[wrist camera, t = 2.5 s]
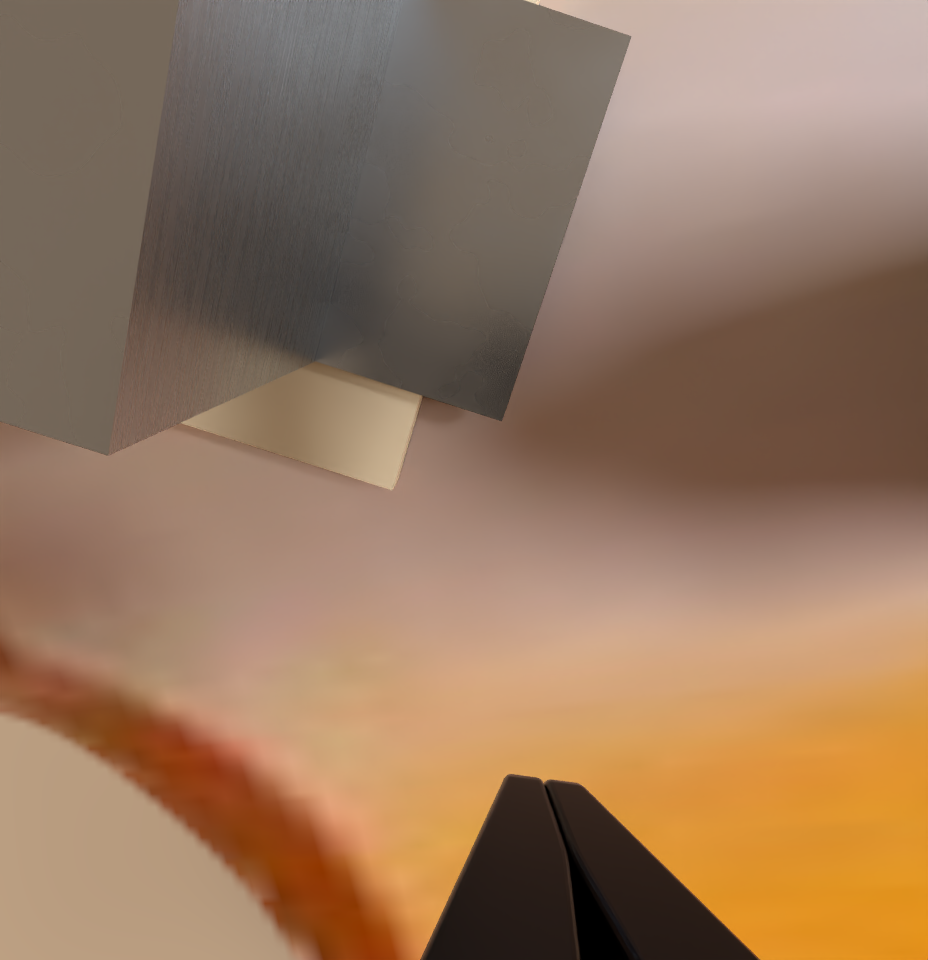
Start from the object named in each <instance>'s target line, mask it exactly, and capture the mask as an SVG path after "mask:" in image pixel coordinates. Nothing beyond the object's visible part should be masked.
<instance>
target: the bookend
mask: <svg viewBox="0 0 928 960" xmlns="http://www.w3.org/2000/svg"><path fill="white" fill-rule="evenodd" d="M630 39H631V36H629V35H626V34H623V33H620V32H617V31H614V30H611V29H608V28H605V27H602V26H599V25H596V24H593V23H590V22H587V21H584V20H581V19H578V18H576V17H573V16H570V15H567V14H564V13H561V12H558V11H555V10H552V9H549V8H546V7H543V6H540V5H537V4H534V3H531V2H528V1H525V0H0V422H3V423H6V424H9V425H13V426H16V427H19V428H22V429H25V430H28V431H32V432H35V433H38V434H41V435H44V436H47V437H51V438H54V439H57V440H60V441H63V442H66V443H70V444H73V445H76V446H79V447H82V448H85V449H89V450H92V451H95V452H98V453H101V454H105V455H111V454H113V453H115V452H117V451H119V450H122V449H124V448H126V447H128V446H130V445H133V444H135V443H137V442H139V441H142V440H144V439H146V438H148V437H150V436H153V435H155V434H157V433H159V432H161V431H164V430H166V429H168V428H170V427H172V426H175V425H177V424H179V423H181V422H183V421H186V420H188V419H190V418H192V417H194V416H197V415H199V414H201V413H203V412H205V411H208V410H210V409H212V408H214V407H216V406H219V405H221V404H223V403H225V402H227V401H230V400H232V399H234V398H236V397H238V396H241V395H243V394H245V393H247V392H249V391H252V390H254V389H256V388H258V387H260V386H263V385H265V384H267V383H269V382H271V381H274V380H276V379H278V378H280V377H282V376H285V375H287V374H289V373H291V372H293V371H296V370H298V369H300V368H302V367H304V366H307V365H309V364H311V363H313V362H315V361H316V362H319V363H322V364H325V365H328V366H332V367H335V368H338V369H341V370H344V371H347V372H350V373H353V374H356V375H360V376H363V377H366V378H369V379H372V380H375V381H378V382H381V383H384V384H388V385H391V386H394V387H397V388H400V389H403V390H406V391H409V392H412V393H415V394H419V395H422V396H425V397H428V398H431V399H434V400H437V401H440V402H443V403H447V404H450V405H453V406H456V407H459V408H462V409H465V410H468V411H471V412H475V413H478V414H481V415H484V416H487V417H490V418H493V419H496V420H499V421H502V419H503V416H504V413H505V410H506V408H507V405H508V402H509V399H510V396H511V393H512V390H513V387H514V384H515V381H516V378H517V375H518V372H519V369H520V366H521V363H522V360H523V357H524V354H525V351H526V348H527V345H528V342H529V339H530V336H531V333H532V330H533V327H534V324H535V321H536V318H537V315H538V312H539V309H540V306H541V303H542V300H543V298H544V295H545V292H546V289H547V286H548V283H549V280H550V277H551V274H552V271H553V268H554V265H555V262H556V259H557V256H558V253H559V250H560V247H561V244H562V241H563V238H564V235H565V232H566V229H567V226H568V223H569V220H570V217H571V214H572V211H573V208H574V205H575V202H576V199H577V196H578V193H579V190H580V188H581V185H582V182H583V179H584V176H585V173H586V170H587V167H588V164H589V161H590V158H591V155H592V152H593V149H594V146H595V143H596V140H597V137H598V134H599V131H600V128H601V125H602V122H603V119H604V116H605V113H606V110H607V107H608V104H609V101H610V98H611V95H612V92H613V89H614V86H615V83H616V80H617V78H618V75H619V72H620V69H621V66H622V63H623V60H624V57H625V54H626V51H627V48H628V45H629V42H630Z"/></svg>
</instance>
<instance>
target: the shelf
mask: <svg viewBox="0 0 928 960" xmlns="http://www.w3.org/2000/svg"><path fill="white" fill-rule="evenodd" d="M525 1H528V2H531V3H534V4H537V5H539V3H540V0H525ZM422 398H423V396H422V395H419V394H415V393H412V392H409V391H406V390H403V389H400V388H397V387H394V386H391V385H388V384H384V383H381V382H378V381H375V380H372V379H369V378H366V377H363V376H360V375H356V374H353V373H350V372H347V371H344V370H341V369H338V368H335V367H332V366H328V365H325V364H322V363H319V362H316V361H315V362H313V363H311V364H309V365H307V366H304V367H302V368H300V369H298V370H296V371H293V372H291V373H289V374H287V375H285V376H282V377H280V378H278V379H276V380H274V381H271V382H269V383H267V384H265V385H263V386H260V387H258V388H256V389H254V390H252V391H249V392H247V393H245V394H243V395H241V396H238V397H236V398H234V399H232V400H230V401H227V402H225V403H223V404H221V405H219V406H216V407H214V408H212V409H210V410H208V411H205V412H203V413H201V414H199V415H197V416H194V417H192V418H190V419H188V420H186V421H183V422H181V424H184V425H187V426H191V427H194V428H197V429H200V430H203V431H206V432H209V433H213V434H216V435H219V436H222V437H225V438H228V439H231V440H235V441H238V442H241V443H244V444H247V445H250V446H254V447H257V448H260V449H263V450H266V451H269V452H272V453H276V454H279V455H282V456H285V457H288V458H291V459H294V460H298V461H301V462H304V463H307V464H310V465H313V466H317V467H320V468H323V469H326V470H329V471H332V472H335V473H339V474H342V475H345V476H348V477H351V478H354V479H357V480H361V481H364V482H367V483H370V484H373V485H376V486H380V487H383V488H386V489H389V490H393V489H394V487H395V485H396V483H397V481H398V479H399V475H400V472H401V469H402V465H403V462H404V459H405V455H406V452H407V448H408V445H409V442H410V438H411V435H412V432H413V428H414V425H415V421H416V418H417V415H418V411H419V408H420V405H421V401H422Z"/></svg>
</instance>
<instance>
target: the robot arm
mask: <svg viewBox="0 0 928 960" xmlns="http://www.w3.org/2000/svg"><path fill="white" fill-rule="evenodd" d="M420 960H760V959H759V958H758V957H757V956H756V955H755V954H754V953H753V952H752V951H751V950H750V949H749V948H748V947H747V946H746V945H744V944H743V943H742V942H741V941H740V940H739V939H738V938H737V937H736V936H735V935H734V934H733V933H732V932H731V931H730V930H729V929H728V928H727V927H726V926H725V925H724V924H723V923H722V922H721V921H720V920H719V919H718V918H717V917H716V916H715V915H714V914H713V913H712V912H711V911H710V910H709V909H708V908H707V907H706V906H705V905H704V904H703V903H702V902H701V901H700V900H699V899H698V898H697V897H696V896H695V895H694V894H693V893H692V892H691V891H689V890H688V889H687V888H686V887H685V886H684V885H683V884H682V883H681V882H680V881H679V880H678V879H677V878H676V877H675V876H674V875H673V874H672V873H671V872H670V871H669V870H668V869H667V868H666V867H665V866H664V865H663V864H662V863H661V862H660V861H659V860H658V859H657V858H656V857H655V856H654V855H653V854H652V853H651V852H650V851H649V850H648V849H647V848H646V847H645V846H644V845H643V844H642V843H641V842H640V841H639V840H638V839H637V838H635V837H634V836H633V835H632V834H631V833H630V832H629V831H628V830H627V829H626V828H625V827H624V826H623V825H622V824H621V823H620V822H619V821H618V820H617V819H616V818H615V817H614V816H613V815H612V814H611V813H610V812H609V811H608V810H607V809H606V808H605V807H604V806H603V805H602V804H601V803H600V802H599V801H598V800H597V799H596V798H595V797H594V796H593V795H592V794H591V793H590V792H589V791H588V790H587V789H586V788H585V787H583V786H582V785H580V784H578V783H574V782H566V781H559V780H547V781H545V782H544V783H543V781H542V780H541V779H539V778H536V777H529V776H521V775H514V774H509V775H507V776H506V777H505V778H504V780H503V782H502V785H501V787H500V789H499V791H498V793H497V795H496V797H495V800H494V802H493V804H492V806H491V808H490V810H489V813H488V815H487V817H486V819H485V821H484V823H483V826H482V828H481V830H480V832H479V834H478V836H477V839H476V841H475V843H474V845H473V847H472V849H471V852H470V854H469V856H468V858H467V860H466V862H465V864H464V867H463V869H462V871H461V873H460V875H459V877H458V880H457V882H456V884H455V886H454V888H453V890H452V893H451V895H450V897H449V899H448V901H447V903H446V905H445V908H444V910H443V912H442V914H441V916H440V918H439V921H438V923H437V925H436V927H435V929H434V931H433V934H432V936H431V938H430V940H429V942H428V944H427V947H426V949H425V951H424V953H423V955H422V957H421V959H420Z"/></svg>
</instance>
